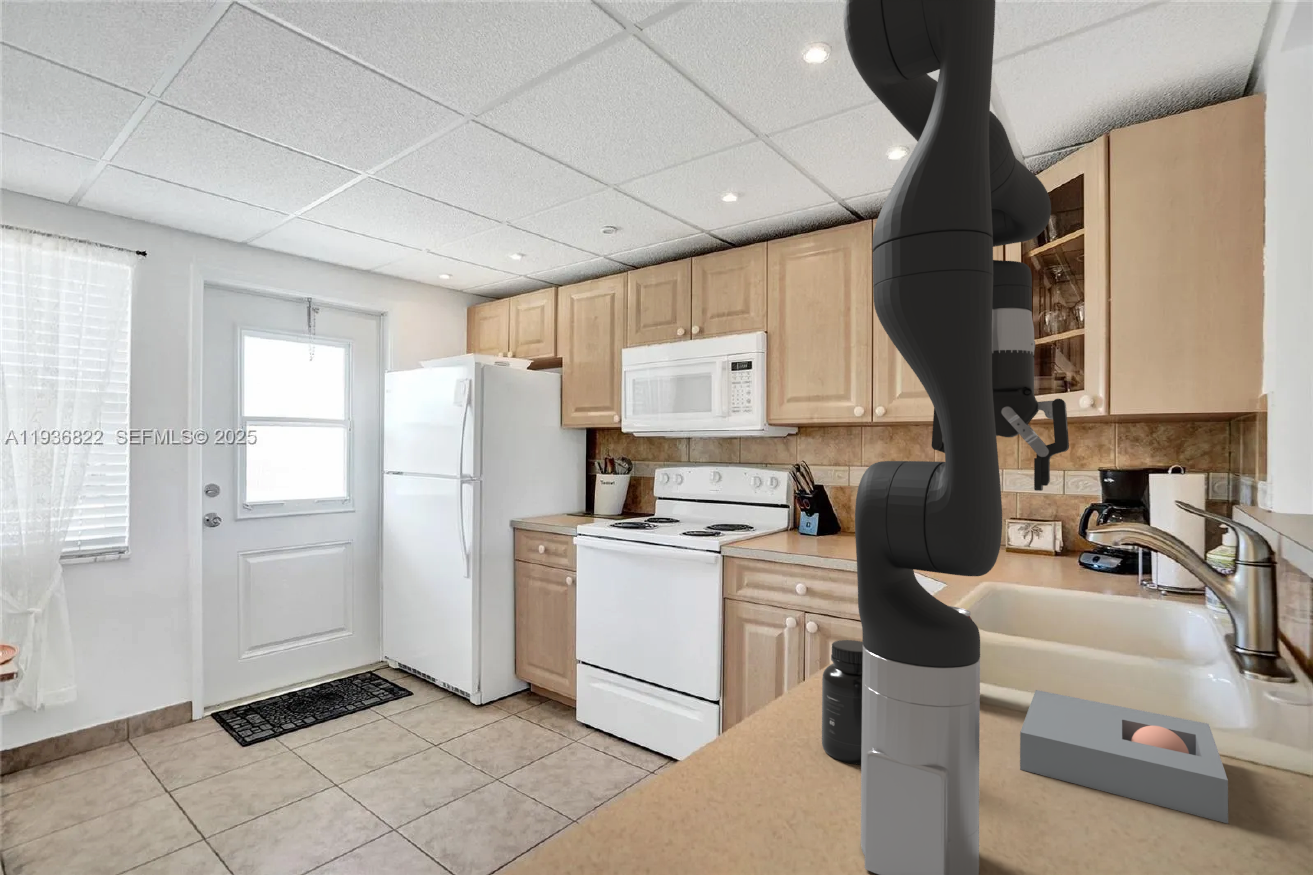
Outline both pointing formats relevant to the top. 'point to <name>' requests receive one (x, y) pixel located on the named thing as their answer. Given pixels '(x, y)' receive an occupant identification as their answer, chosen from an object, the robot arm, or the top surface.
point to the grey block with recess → (1124, 754)
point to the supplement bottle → (843, 702)
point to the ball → (1159, 738)
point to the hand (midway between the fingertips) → (997, 488)
